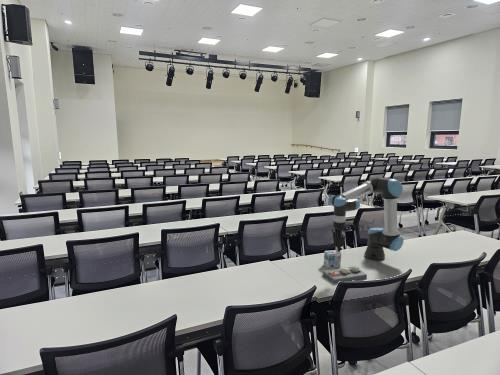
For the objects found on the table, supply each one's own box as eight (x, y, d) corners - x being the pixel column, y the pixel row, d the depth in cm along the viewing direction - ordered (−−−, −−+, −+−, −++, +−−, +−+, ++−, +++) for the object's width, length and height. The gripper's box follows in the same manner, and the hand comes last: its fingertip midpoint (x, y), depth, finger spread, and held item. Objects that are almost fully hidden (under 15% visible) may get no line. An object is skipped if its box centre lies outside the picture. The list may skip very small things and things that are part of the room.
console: (353, 270, 231) (353, 266, 231) (366, 278, 218) (366, 274, 218) (322, 275, 223) (323, 270, 223) (334, 283, 210) (334, 279, 210)
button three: (334, 274, 221) (335, 270, 220) (339, 278, 216) (339, 273, 216) (328, 275, 219) (328, 271, 219) (332, 279, 215) (332, 274, 214)
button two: (345, 270, 223) (345, 266, 223) (350, 273, 219) (350, 269, 218) (339, 271, 222) (339, 267, 221) (343, 274, 217) (344, 270, 217)
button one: (356, 269, 226) (356, 264, 225) (360, 272, 221) (360, 267, 221) (349, 270, 224) (350, 265, 224) (354, 273, 220) (354, 268, 219)
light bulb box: (327, 268, 235) (328, 254, 233) (323, 264, 241) (323, 250, 239) (340, 266, 237) (341, 252, 236) (336, 263, 244) (336, 249, 242)
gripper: (328, 219, 217) (327, 252, 221) (340, 224, 205) (338, 259, 209) (338, 218, 219) (337, 251, 223) (350, 223, 207) (348, 258, 211)
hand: (337, 255), depth 216 cm, fingers closed
